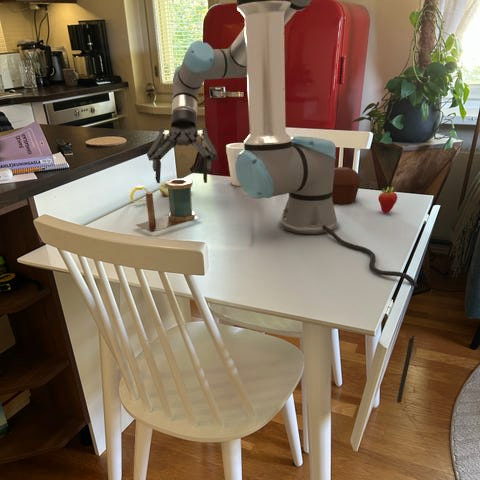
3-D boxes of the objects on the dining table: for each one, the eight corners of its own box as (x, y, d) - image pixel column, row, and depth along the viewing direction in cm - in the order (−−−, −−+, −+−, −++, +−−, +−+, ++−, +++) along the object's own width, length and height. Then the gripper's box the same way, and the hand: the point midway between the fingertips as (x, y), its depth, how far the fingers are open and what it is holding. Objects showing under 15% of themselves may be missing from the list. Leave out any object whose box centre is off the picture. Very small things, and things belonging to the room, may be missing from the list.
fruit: (384, 209, 145) (388, 182, 140) (398, 213, 141) (403, 186, 137) (373, 212, 142) (376, 185, 138) (386, 217, 138) (390, 189, 134)
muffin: (365, 199, 153) (369, 167, 148) (348, 208, 146) (351, 174, 141) (334, 193, 160) (336, 162, 155) (315, 200, 153) (317, 169, 148)
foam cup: (255, 180, 175) (255, 143, 169) (250, 187, 168) (250, 148, 161) (230, 179, 177) (229, 142, 171) (224, 186, 170) (223, 147, 163)
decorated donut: (167, 201, 155) (166, 189, 153) (155, 193, 163) (154, 182, 161) (196, 195, 160) (195, 184, 158) (183, 188, 168) (182, 177, 166)
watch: (133, 207, 150) (131, 188, 146) (130, 205, 152) (128, 186, 149) (151, 204, 152) (149, 186, 149) (148, 202, 154) (146, 184, 151)
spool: (195, 212, 140) (193, 178, 134) (192, 221, 133) (190, 185, 128) (171, 213, 140) (167, 178, 135) (167, 221, 134) (163, 185, 129)
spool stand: (181, 216, 142) (179, 180, 136) (199, 222, 137) (196, 186, 131) (135, 230, 132) (130, 192, 127) (152, 237, 127) (147, 198, 122)
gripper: (227, 123, 145) (225, 187, 139) (145, 124, 145) (141, 187, 140) (225, 107, 137) (224, 173, 132) (139, 108, 138) (134, 173, 133)
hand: (181, 180), depth 136 cm, fingers open, 13 cm apart
